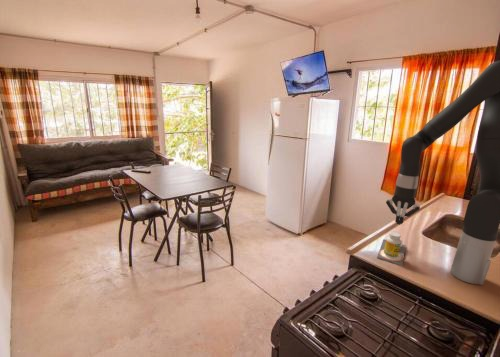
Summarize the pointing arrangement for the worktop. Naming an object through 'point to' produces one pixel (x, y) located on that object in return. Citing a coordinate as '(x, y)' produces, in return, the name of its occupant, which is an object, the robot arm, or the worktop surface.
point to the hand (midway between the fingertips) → (398, 223)
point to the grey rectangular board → (393, 260)
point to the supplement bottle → (392, 245)
